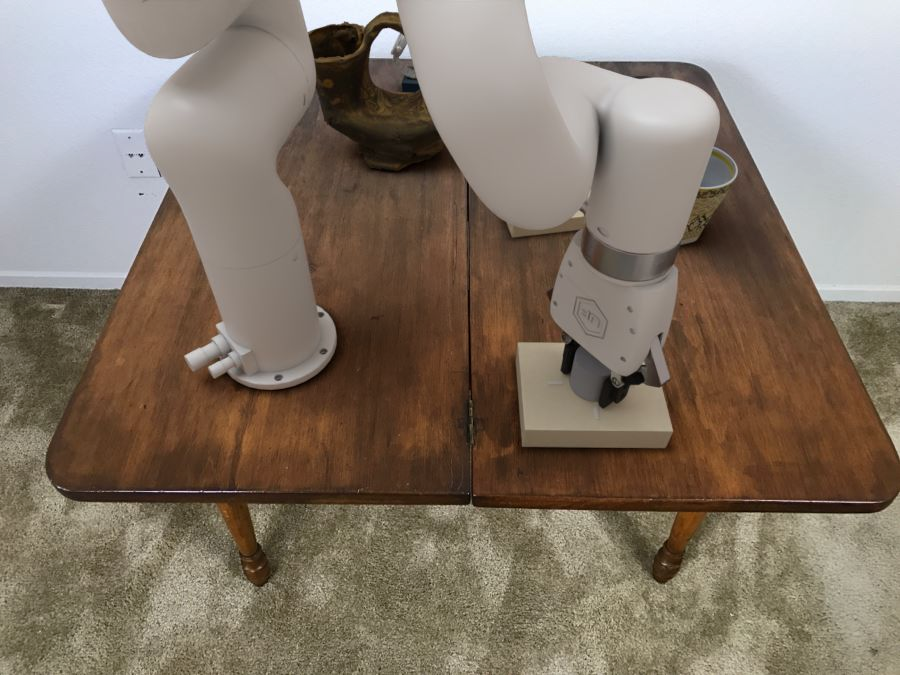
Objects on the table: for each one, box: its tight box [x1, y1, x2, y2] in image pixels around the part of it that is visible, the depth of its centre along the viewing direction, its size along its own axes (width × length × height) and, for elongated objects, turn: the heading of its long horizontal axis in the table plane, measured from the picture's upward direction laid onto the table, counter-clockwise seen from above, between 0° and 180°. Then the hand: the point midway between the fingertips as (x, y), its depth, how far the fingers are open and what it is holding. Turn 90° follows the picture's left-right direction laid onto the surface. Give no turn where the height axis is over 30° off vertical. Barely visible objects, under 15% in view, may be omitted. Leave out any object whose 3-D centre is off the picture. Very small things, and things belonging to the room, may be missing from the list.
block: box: [506, 189, 591, 238], centre depth 89 cm, size 12×10×4 cm
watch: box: [390, 33, 420, 93], centre depth 107 cm, size 6×8×11 cm
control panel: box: [515, 341, 674, 449], centre depth 68 cm, size 14×11×3 cm
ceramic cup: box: [680, 146, 739, 246], centre depth 85 cm, size 13×10×10 cm
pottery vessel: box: [308, 10, 446, 172], centre depth 92 cm, size 25×11×20 cm, turn 86°
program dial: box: [569, 346, 611, 401], centre depth 66 cm, size 4×4×4 cm
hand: (592, 381), depth 67 cm, fingers closed on program dial, 4 cm apart
